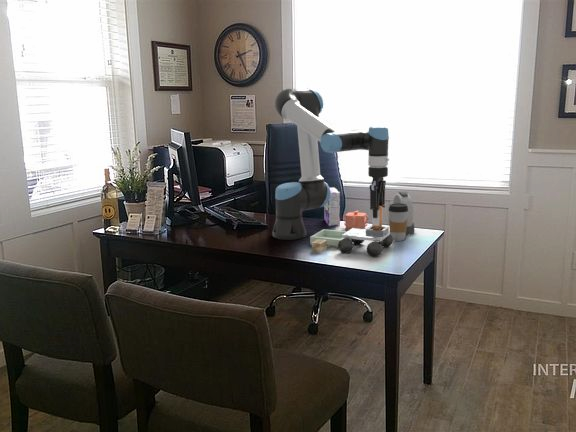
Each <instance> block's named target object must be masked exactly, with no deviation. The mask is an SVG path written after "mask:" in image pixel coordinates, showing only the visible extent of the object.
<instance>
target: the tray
mask: <svg viewBox="0 0 576 432" xmlns="http://www.w3.org/2000/svg"><path fill="white" fill-rule="evenodd" d="M346 232H347V231H346V230H345V231H344V230H336V229H335V230H334V229H324V228H323V229H321V230H320V231H318V232H316V233H315V234H313V235H311V236H309V239H310V240H309V244H310V246H312V242H314V241H316V240H317V239H322V240H327V248H333V249H334V248H335V249H339V248H338V243H339V241H341V240H342V239H344V238H342V234H344V233H346ZM348 239H350V238H348ZM350 240H351V239H350Z"/></svg>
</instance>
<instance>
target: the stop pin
mask: <svg viewBox="0 0 576 432" xmlns="http://www.w3.org/2000/svg"><path fill="white" fill-rule="evenodd" d="M382 208H383V207H382V206H380V205H379V209H378V210H380V212H379V226H373V229H374V230H382V226H383V219H382Z"/></svg>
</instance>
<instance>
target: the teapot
mask: <svg viewBox="0 0 576 432" xmlns="http://www.w3.org/2000/svg"><path fill="white" fill-rule="evenodd" d="M342 219H343V221H344V222H343V223H344V224H343V225H344V226H345V230H348V231H349V230H350V229H352V228H358V229H366V228H367V226H368V223H367V222H368V221H369V215H367V213H366V212H359V210H356V211H353V212H347V213H346V214H344V215H343V216H342Z"/></svg>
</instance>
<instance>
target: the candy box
mask: <svg viewBox="0 0 576 432" xmlns="http://www.w3.org/2000/svg"><path fill="white" fill-rule="evenodd" d="M330 192H331V195H330V199H329V202H328V203H327V204H326V205H325V206H323V208H324V210H323V211H324V212H323V213H324V214H323V215H324V218H323V219H324V221H325V223H326V224H327V226H329V227H339V226H340V225H341V224H340V222H341V219H340V218H341V216H340V215H341V192H340V191H338V189H337V188H336V187H330Z"/></svg>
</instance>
